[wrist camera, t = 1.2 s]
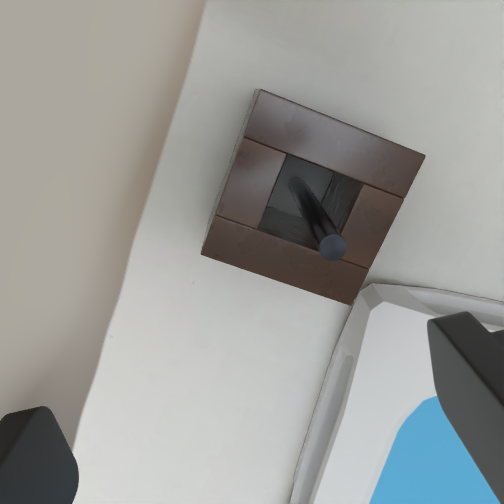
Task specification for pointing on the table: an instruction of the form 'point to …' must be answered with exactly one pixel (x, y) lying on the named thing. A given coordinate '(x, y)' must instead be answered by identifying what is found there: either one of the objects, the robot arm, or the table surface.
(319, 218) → the stylus
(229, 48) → the table surface
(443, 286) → the table surface
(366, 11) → the table surface
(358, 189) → the pen stand
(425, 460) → the document scanner
